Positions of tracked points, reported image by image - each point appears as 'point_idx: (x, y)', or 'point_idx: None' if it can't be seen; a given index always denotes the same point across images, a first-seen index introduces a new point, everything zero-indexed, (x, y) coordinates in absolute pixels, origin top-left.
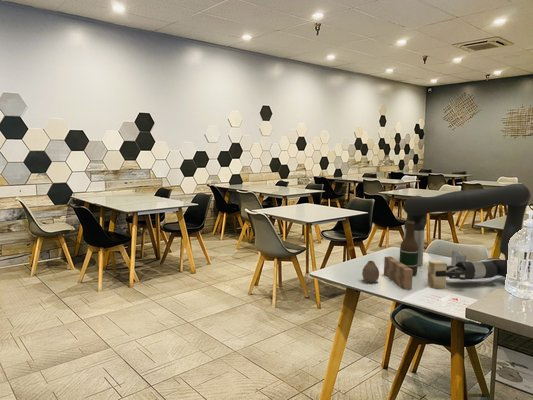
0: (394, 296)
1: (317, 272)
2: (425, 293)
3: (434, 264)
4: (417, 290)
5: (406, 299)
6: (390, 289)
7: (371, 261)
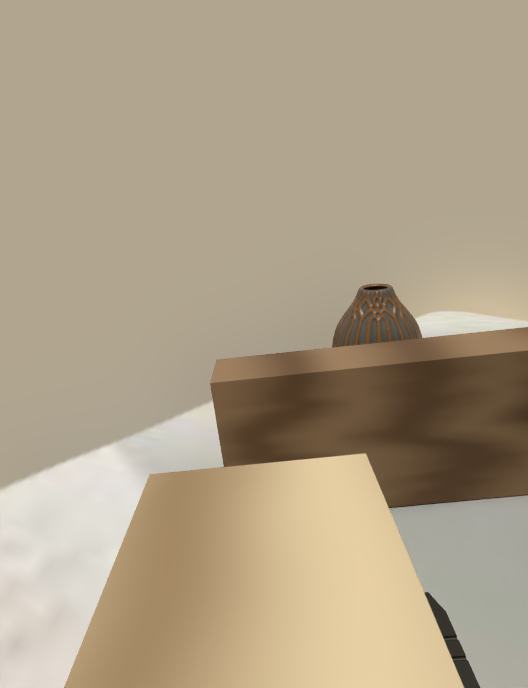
0: (154, 431)
1: (457, 313)
2: None
3: (175, 481)
4: None
5: (95, 459)
6: None
7: (393, 291)
